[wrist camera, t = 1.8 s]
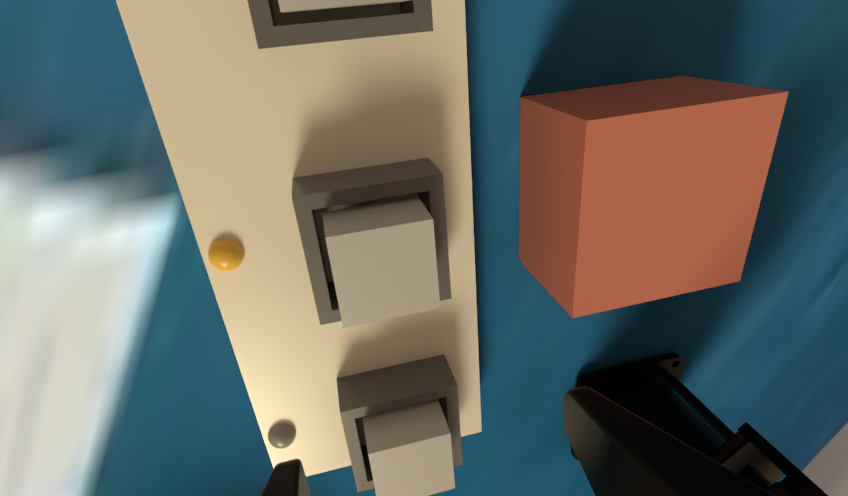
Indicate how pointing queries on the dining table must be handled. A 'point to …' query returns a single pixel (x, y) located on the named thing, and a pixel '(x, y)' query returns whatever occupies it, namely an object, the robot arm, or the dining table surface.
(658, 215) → the terracotta orange block
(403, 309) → the breaker middle
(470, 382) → the breaker panel
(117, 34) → the dining table surface
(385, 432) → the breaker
